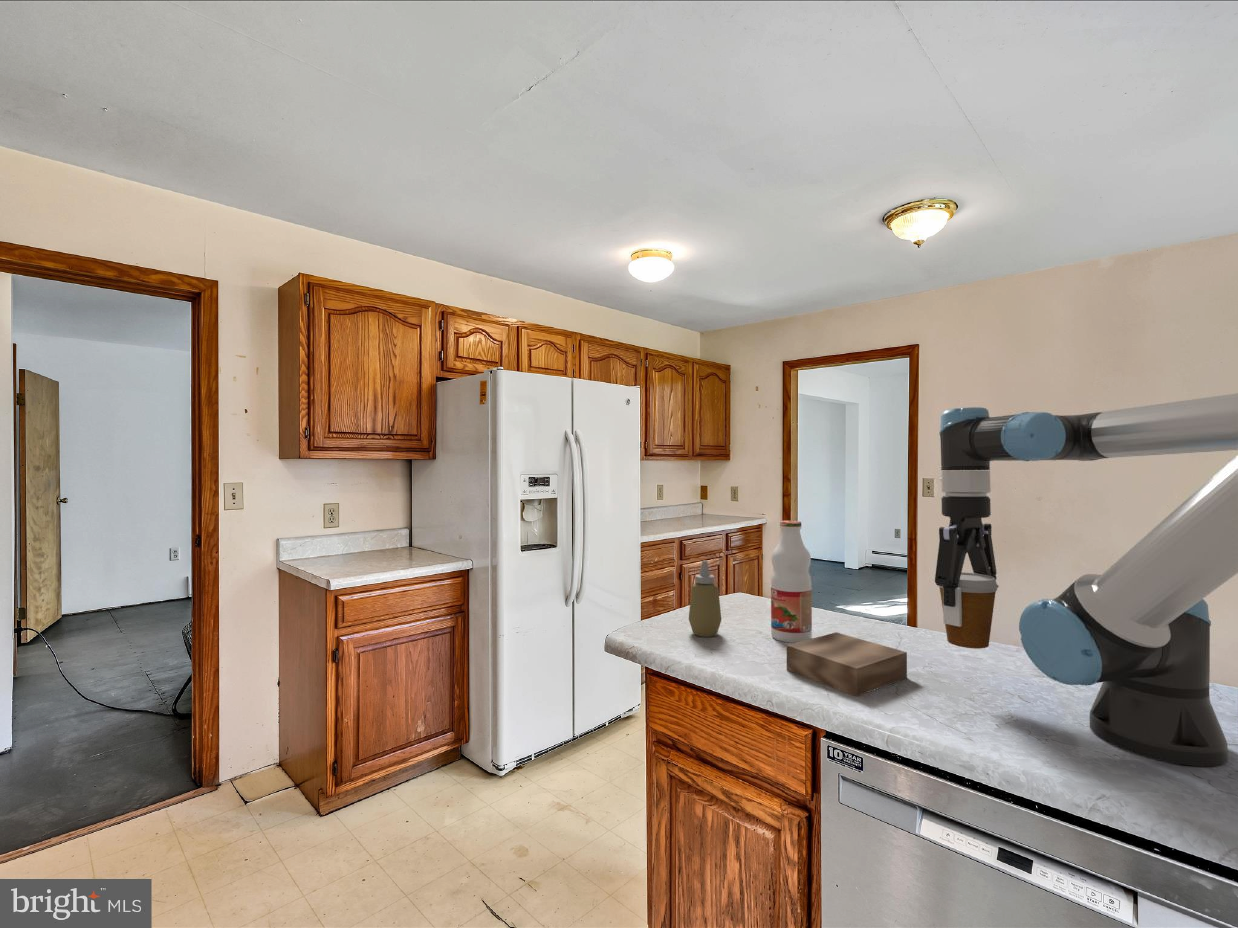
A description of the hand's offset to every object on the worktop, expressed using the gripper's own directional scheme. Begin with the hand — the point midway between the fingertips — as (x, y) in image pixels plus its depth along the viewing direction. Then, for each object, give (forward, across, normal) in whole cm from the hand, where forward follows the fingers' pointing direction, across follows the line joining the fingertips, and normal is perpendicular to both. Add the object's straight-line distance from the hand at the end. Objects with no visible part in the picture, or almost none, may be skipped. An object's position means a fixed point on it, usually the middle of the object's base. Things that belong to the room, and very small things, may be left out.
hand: (967, 620), depth 103 cm
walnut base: (+14, +8, -20) cm, 25 cm away
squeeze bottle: (+13, +13, -56) cm, 59 cm away
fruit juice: (+13, -2, -42) cm, 44 cm away
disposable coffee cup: (+4, 0, 0) cm, 4 cm away
